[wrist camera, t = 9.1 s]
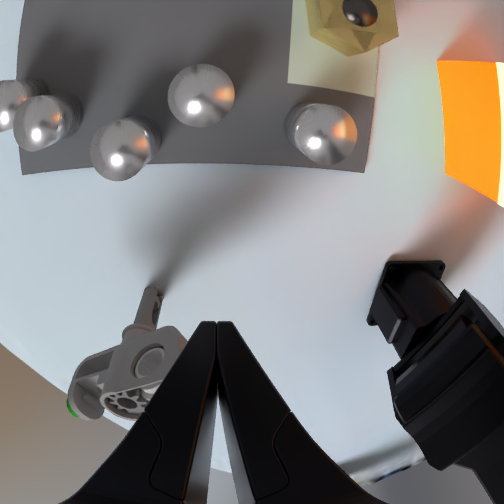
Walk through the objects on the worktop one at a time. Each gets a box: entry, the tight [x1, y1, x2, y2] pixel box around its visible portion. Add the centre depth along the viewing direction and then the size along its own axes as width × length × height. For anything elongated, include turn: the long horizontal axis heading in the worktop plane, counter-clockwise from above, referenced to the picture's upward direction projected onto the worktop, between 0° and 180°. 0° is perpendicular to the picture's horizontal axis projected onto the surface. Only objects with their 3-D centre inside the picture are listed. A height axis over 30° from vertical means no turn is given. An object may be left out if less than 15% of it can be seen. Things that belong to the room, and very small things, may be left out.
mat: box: [16, 0, 379, 175], centre depth 13 cm, size 23×18×1 cm
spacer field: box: [0, 64, 357, 181], centre depth 11 cm, size 22×18×4 cm
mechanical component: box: [67, 287, 188, 421], centre depth 18 cm, size 3×10×10 cm, turn 116°
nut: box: [305, 0, 399, 57], centre depth 12 cm, size 4×5×3 cm
